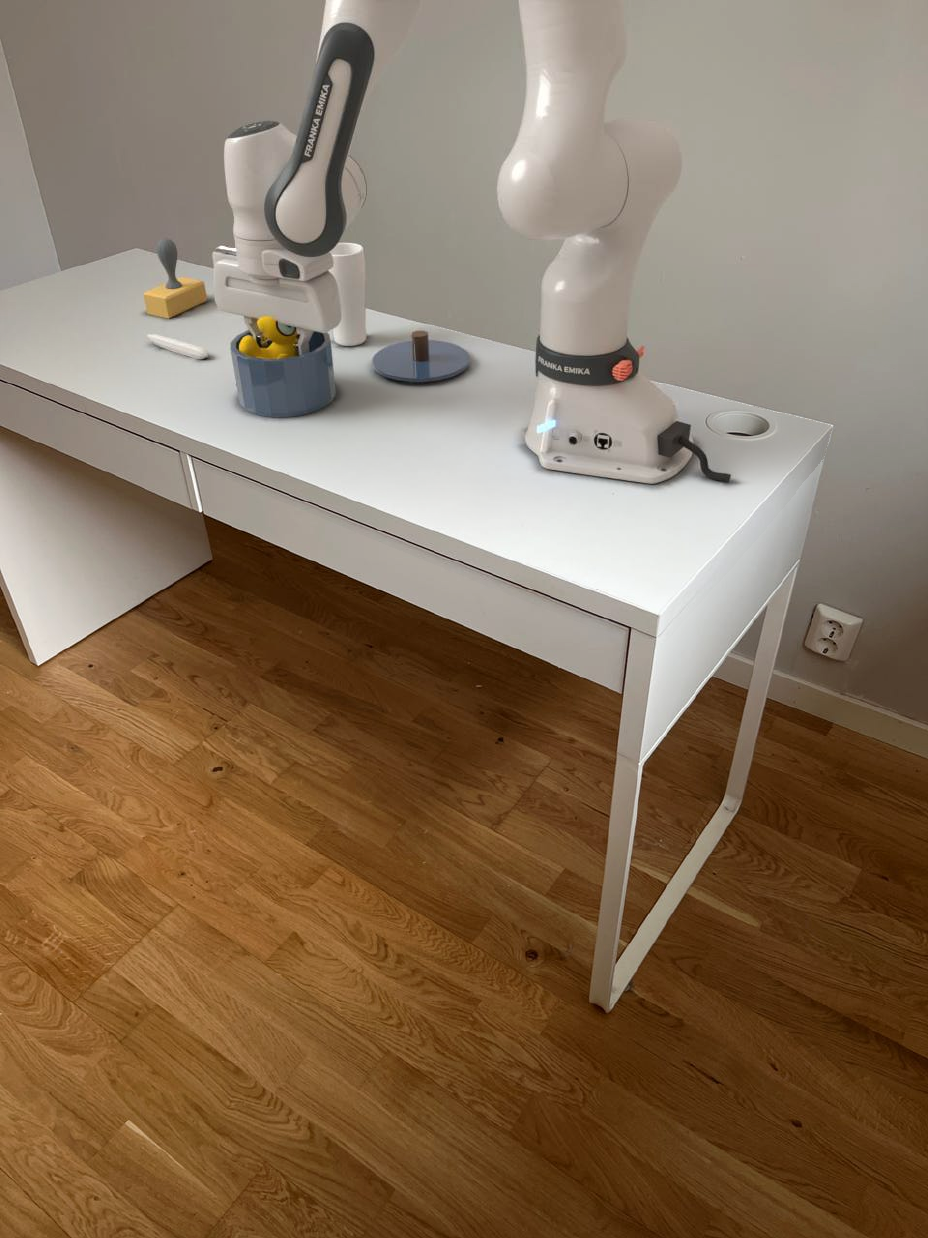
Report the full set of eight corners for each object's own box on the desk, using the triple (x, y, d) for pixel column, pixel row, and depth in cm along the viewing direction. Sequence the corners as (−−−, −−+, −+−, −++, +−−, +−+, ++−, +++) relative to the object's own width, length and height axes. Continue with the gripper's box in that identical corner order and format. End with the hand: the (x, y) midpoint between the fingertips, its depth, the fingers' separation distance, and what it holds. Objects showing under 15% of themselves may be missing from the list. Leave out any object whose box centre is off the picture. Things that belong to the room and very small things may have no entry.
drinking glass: (321, 344, 166) (311, 252, 157) (344, 330, 171) (336, 239, 162) (356, 351, 164) (348, 257, 155) (378, 337, 169) (372, 245, 160)
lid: (487, 357, 161) (486, 325, 158) (438, 393, 151) (437, 359, 147) (406, 340, 167) (404, 309, 164) (353, 374, 157) (351, 341, 154)
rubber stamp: (185, 296, 186) (172, 228, 179) (208, 301, 184) (197, 233, 177) (146, 313, 180) (131, 244, 172) (170, 318, 177) (156, 248, 170)
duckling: (314, 361, 152) (307, 295, 146) (325, 374, 148) (317, 307, 142) (240, 374, 149) (229, 307, 143) (248, 388, 145) (237, 320, 139)
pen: (151, 340, 169) (149, 331, 168) (211, 358, 163) (209, 348, 162) (144, 343, 168) (142, 334, 167) (204, 361, 162) (202, 351, 161)
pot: (354, 387, 153) (349, 332, 148) (296, 425, 143) (289, 368, 138) (279, 370, 159) (272, 316, 153) (219, 405, 149) (209, 349, 144)
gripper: (195, 248, 140) (212, 344, 149) (314, 270, 132) (325, 370, 140) (226, 236, 145) (240, 330, 153) (343, 256, 136) (351, 354, 145)
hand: (282, 349), depth 147 cm, fingers closed on duckling, 6 cm apart
